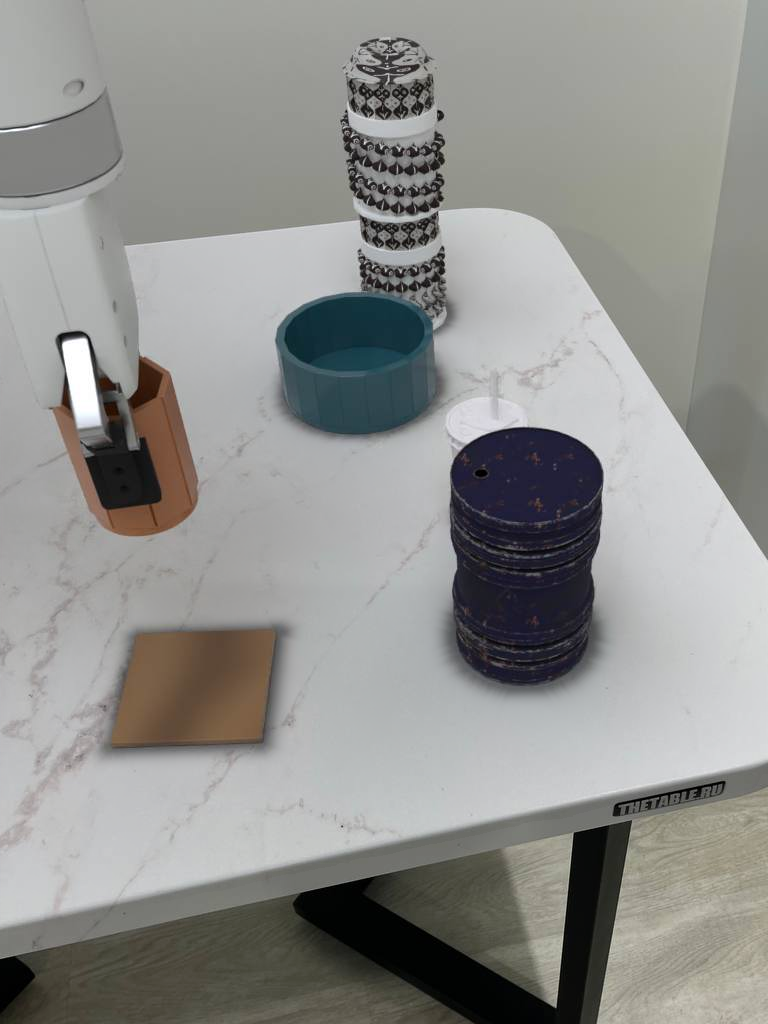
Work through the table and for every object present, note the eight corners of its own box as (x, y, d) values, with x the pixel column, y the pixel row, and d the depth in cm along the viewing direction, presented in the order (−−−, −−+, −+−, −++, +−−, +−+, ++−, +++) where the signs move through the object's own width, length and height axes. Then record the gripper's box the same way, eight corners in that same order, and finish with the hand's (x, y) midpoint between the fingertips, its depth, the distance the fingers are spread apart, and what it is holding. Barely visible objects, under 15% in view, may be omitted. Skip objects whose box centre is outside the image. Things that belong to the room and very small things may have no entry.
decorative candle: (365, 291, 110) (340, 27, 92) (453, 292, 110) (445, 28, 91) (354, 338, 104) (325, 66, 85) (447, 339, 104) (438, 66, 85)
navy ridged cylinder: (585, 587, 80) (600, 425, 69) (595, 686, 73) (613, 524, 62) (454, 588, 80) (448, 426, 69) (452, 687, 73) (445, 525, 62)
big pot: (278, 436, 93) (268, 378, 89) (292, 350, 103) (283, 293, 98) (436, 432, 93) (433, 373, 89) (435, 346, 103) (432, 289, 98)
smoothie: (527, 545, 83) (533, 395, 73) (447, 546, 83) (440, 396, 73) (525, 493, 87) (529, 345, 77) (448, 494, 87) (442, 346, 77)
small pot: (84, 538, 60) (40, 422, 54) (106, 472, 64) (66, 357, 58) (190, 535, 60) (157, 418, 54) (205, 469, 64) (175, 354, 58)
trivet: (111, 748, 70) (109, 743, 70) (139, 637, 77) (137, 633, 76) (262, 742, 70) (260, 738, 70) (276, 633, 77) (275, 628, 76)
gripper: (-36, 77, 52) (72, 388, 65) (-87, 239, 40) (57, 577, 53) (120, 63, 53) (195, 372, 66) (114, 218, 41) (206, 554, 54)
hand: (133, 461), depth 60 cm, fingers closed on small pot, 6 cm apart
